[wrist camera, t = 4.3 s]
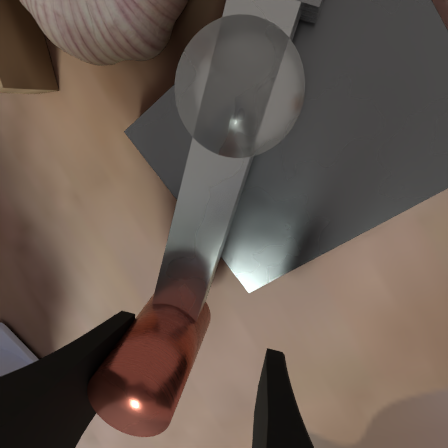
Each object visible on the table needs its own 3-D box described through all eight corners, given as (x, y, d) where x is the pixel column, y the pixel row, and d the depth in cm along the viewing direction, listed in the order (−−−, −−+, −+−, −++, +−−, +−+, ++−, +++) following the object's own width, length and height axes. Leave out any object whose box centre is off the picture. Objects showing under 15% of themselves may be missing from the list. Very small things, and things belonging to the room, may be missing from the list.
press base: (252, 279, 16) (247, 299, 14) (137, 129, 14) (117, 132, 13) (493, 148, 12) (523, 155, 10) (366, -83, 10) (379, -116, 9)
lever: (235, -99, 10) (167, -321, 5) (364, -64, 9) (444, -262, 4) (140, 314, 16) (70, 409, 11) (213, 343, 16) (174, 455, 11)
